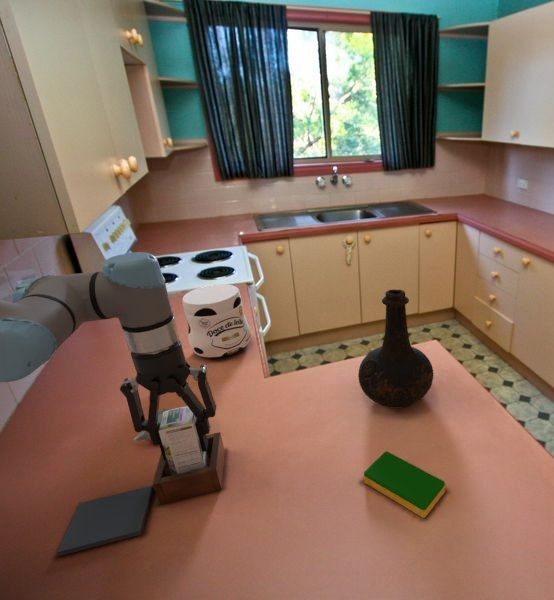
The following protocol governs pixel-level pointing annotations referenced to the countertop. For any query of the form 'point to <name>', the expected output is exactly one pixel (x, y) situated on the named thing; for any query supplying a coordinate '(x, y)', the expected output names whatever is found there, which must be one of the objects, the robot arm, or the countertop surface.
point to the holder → (191, 475)
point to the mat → (107, 520)
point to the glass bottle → (395, 361)
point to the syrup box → (181, 441)
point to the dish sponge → (405, 483)
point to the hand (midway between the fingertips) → (186, 450)
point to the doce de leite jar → (216, 321)
